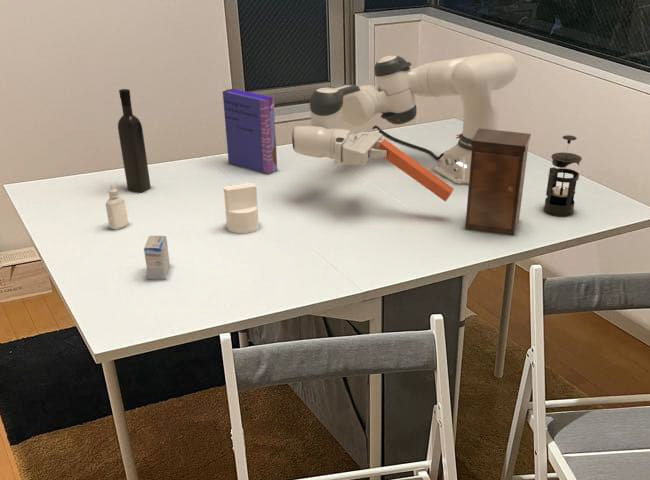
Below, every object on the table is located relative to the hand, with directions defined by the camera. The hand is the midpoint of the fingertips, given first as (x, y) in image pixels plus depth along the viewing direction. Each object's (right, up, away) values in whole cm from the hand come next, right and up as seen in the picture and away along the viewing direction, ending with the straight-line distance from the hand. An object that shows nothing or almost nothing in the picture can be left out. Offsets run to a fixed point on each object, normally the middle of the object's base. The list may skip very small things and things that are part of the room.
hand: (389, 150), depth 239 cm
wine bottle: (-79, -6, +20) cm, 82 cm away
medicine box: (-59, -41, -28) cm, 77 cm away
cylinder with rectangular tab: (-42, -23, -2) cm, 48 cm away
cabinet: (+31, -21, +5) cm, 37 cm away
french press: (+52, -14, +16) cm, 56 cm away
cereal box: (-47, +6, +40) cm, 62 cm away
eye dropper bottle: (-77, -23, -5) cm, 81 cm away
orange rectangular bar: (+7, -6, +2) cm, 9 cm away
